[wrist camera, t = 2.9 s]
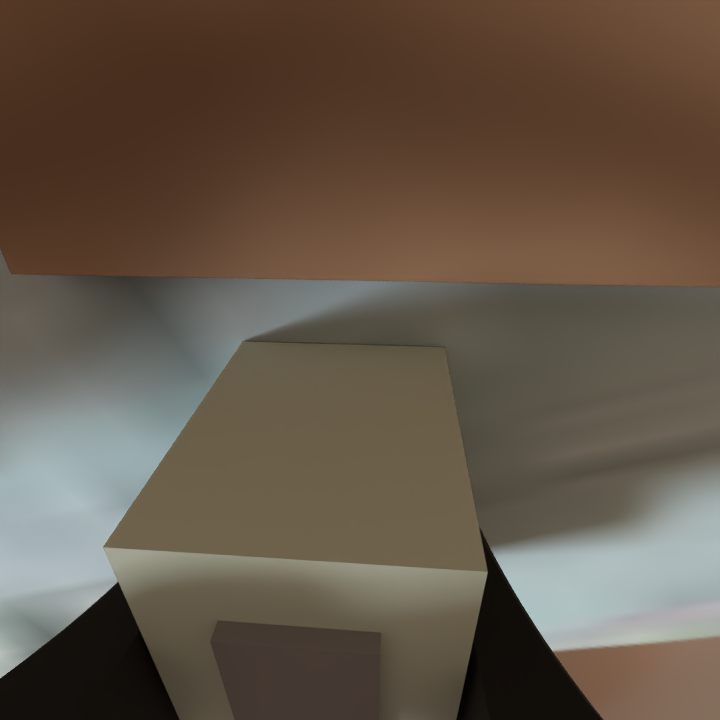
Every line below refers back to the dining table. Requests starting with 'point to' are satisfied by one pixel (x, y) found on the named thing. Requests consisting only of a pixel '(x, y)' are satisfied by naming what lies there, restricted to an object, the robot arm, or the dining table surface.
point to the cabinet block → (311, 541)
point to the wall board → (363, 140)
